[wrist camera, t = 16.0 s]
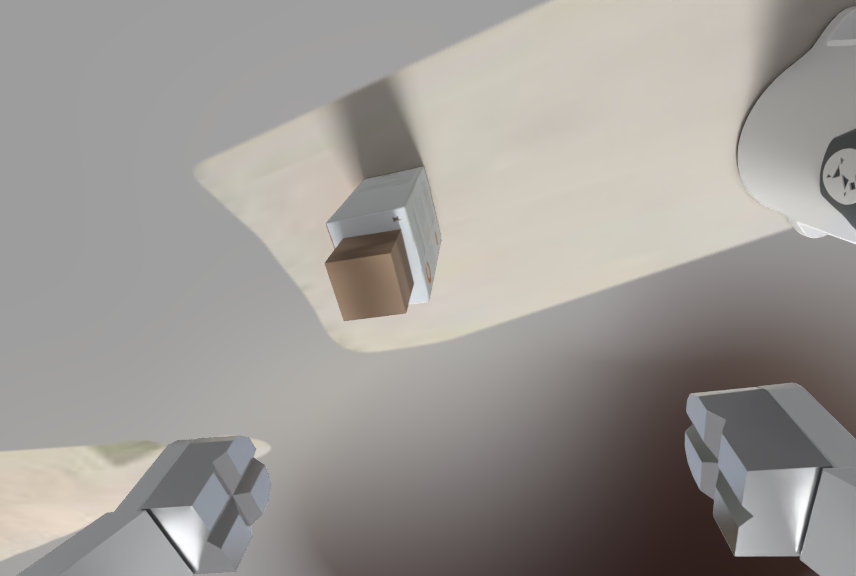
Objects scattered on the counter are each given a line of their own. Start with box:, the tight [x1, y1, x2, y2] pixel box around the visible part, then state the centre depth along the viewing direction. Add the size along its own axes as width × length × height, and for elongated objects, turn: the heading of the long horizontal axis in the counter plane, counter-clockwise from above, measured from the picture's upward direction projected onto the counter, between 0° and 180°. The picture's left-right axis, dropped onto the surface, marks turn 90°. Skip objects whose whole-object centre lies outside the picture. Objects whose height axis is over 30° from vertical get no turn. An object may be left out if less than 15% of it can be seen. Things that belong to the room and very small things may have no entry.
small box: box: [326, 167, 441, 305], centre depth 39 cm, size 8×6×13 cm
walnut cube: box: [325, 229, 414, 321], centre depth 31 cm, size 4×4×4 cm
